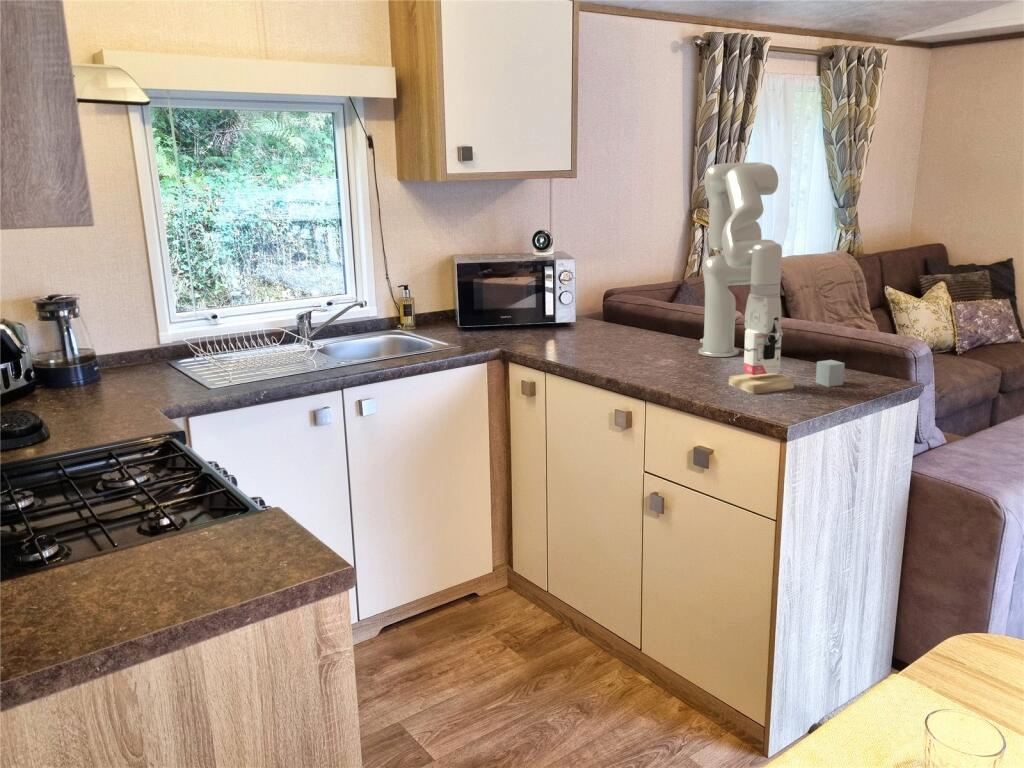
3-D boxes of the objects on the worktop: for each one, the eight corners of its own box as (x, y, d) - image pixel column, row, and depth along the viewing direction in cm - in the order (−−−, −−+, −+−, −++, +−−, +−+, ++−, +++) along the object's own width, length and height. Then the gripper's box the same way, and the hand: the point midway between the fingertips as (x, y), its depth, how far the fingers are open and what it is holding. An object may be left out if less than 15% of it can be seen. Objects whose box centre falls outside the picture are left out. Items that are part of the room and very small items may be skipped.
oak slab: (728, 386, 221) (729, 376, 220) (767, 381, 225) (768, 370, 225) (753, 395, 211) (753, 384, 210) (793, 390, 215) (794, 379, 215)
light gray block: (815, 382, 220) (816, 361, 219) (830, 380, 222) (831, 359, 220) (828, 386, 216) (829, 365, 214) (843, 384, 217) (844, 363, 216)
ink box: (752, 375, 214) (754, 332, 211) (742, 371, 219) (744, 329, 216) (780, 372, 216) (782, 329, 213) (770, 368, 221) (772, 326, 218)
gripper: (733, 287, 218) (731, 352, 223) (774, 295, 203) (770, 364, 207) (756, 285, 221) (753, 349, 225) (798, 292, 205) (794, 361, 210)
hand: (761, 356), depth 216 cm, fingers closed on ink box, 5 cm apart
